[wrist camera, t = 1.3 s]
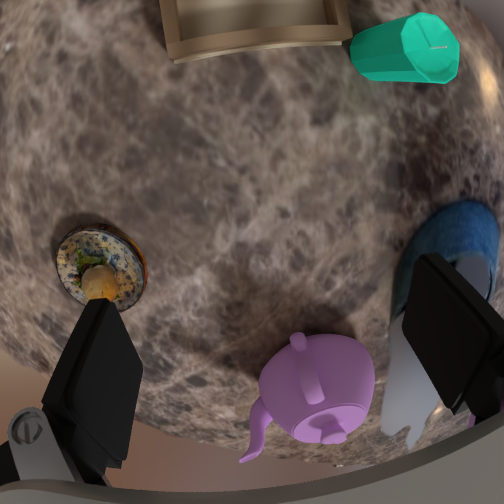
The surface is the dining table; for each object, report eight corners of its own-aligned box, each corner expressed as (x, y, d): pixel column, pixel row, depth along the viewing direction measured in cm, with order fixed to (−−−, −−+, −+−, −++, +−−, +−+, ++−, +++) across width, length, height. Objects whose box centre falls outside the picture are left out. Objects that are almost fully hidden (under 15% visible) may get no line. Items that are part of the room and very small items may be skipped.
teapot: (200, 349, 42) (197, 435, 30) (349, 291, 39) (391, 370, 27) (260, 418, 52) (269, 483, 40) (372, 378, 50) (399, 440, 38)
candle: (379, 92, 28) (450, 101, 17) (338, 53, 25) (398, 38, 15) (408, 57, 26) (483, 55, 15) (370, 18, 23) (437, -5, 13)
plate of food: (56, 217, 31) (25, 247, 25) (148, 226, 33) (132, 261, 27) (68, 299, 37) (47, 336, 30) (149, 311, 39) (138, 353, 32)
